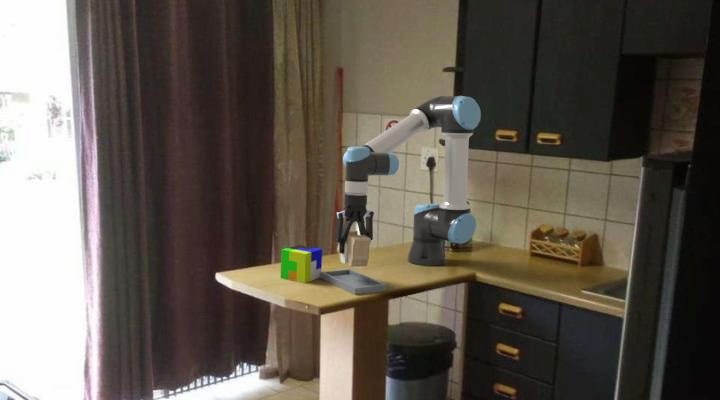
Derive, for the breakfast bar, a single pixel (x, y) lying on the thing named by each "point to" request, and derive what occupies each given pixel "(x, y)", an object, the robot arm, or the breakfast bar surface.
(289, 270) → the puzzle toy
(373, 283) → the tray
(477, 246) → the breakfast bar surface
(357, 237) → the toy train
